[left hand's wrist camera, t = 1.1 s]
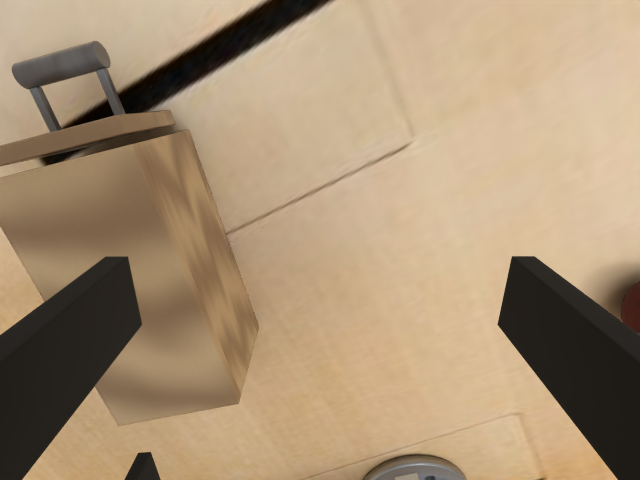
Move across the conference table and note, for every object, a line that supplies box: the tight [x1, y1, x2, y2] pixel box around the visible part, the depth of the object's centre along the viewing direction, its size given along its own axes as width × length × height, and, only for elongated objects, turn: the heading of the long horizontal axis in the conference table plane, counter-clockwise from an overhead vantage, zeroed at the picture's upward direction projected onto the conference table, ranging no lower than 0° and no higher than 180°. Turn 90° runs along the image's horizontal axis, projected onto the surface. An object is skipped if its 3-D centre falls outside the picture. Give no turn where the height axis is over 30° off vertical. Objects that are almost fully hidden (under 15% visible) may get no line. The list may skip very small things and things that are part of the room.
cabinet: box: [0, 130, 259, 426], centre depth 32 cm, size 22×11×11 cm, turn 13°
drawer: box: [0, 41, 175, 166], centre depth 31 cm, size 26×10×9 cm, turn 13°
